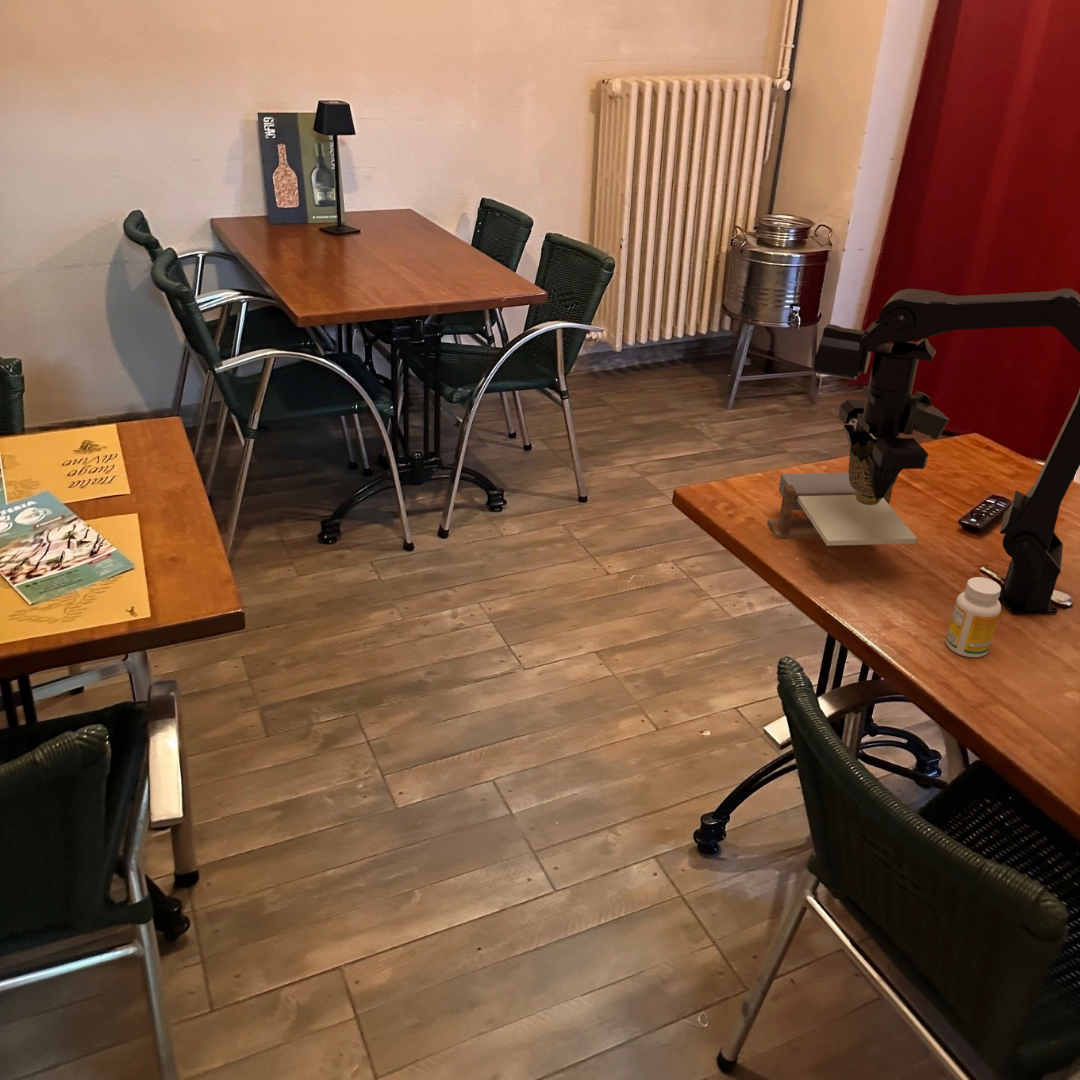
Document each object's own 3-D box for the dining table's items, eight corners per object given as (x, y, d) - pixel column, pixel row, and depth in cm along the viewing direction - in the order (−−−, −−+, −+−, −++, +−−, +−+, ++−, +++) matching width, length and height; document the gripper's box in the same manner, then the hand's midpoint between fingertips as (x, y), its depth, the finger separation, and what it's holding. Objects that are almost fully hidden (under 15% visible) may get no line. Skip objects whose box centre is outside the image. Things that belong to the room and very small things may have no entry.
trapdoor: (912, 559, 141) (917, 538, 139) (824, 561, 140) (827, 540, 139) (856, 488, 161) (860, 470, 159) (778, 490, 160) (781, 471, 158)
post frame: (887, 536, 155) (897, 488, 151) (775, 538, 154) (783, 490, 150) (875, 521, 160) (885, 474, 156) (767, 523, 158) (773, 476, 154)
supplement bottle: (938, 647, 129) (954, 585, 124) (955, 630, 132) (971, 569, 128) (979, 664, 126) (997, 601, 121) (995, 646, 129) (1013, 584, 125)
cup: (857, 515, 139) (867, 464, 135) (831, 492, 145) (840, 442, 141) (904, 510, 141) (915, 459, 137) (876, 487, 147) (886, 438, 143)
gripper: (978, 410, 126) (951, 517, 134) (921, 362, 143) (900, 460, 150) (893, 410, 126) (871, 518, 134) (846, 362, 142) (829, 460, 150)
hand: (870, 487), depth 142 cm, fingers closed on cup, 6 cm apart
